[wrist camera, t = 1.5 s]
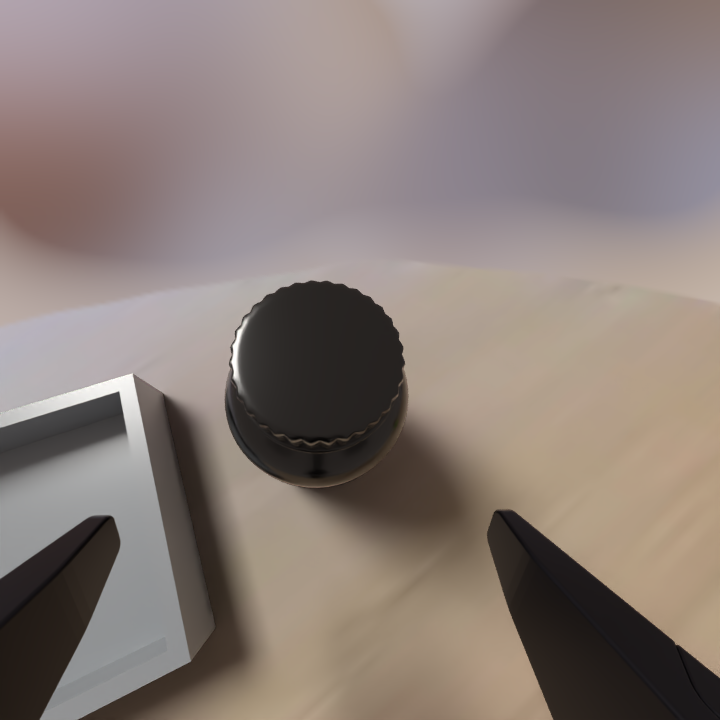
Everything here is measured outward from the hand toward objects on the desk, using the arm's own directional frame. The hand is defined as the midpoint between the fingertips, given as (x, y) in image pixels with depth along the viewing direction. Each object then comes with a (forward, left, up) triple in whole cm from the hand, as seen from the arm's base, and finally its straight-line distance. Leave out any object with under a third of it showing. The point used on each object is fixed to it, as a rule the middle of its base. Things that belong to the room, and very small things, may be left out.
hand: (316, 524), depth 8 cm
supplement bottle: (+4, -2, -12) cm, 12 cm away
